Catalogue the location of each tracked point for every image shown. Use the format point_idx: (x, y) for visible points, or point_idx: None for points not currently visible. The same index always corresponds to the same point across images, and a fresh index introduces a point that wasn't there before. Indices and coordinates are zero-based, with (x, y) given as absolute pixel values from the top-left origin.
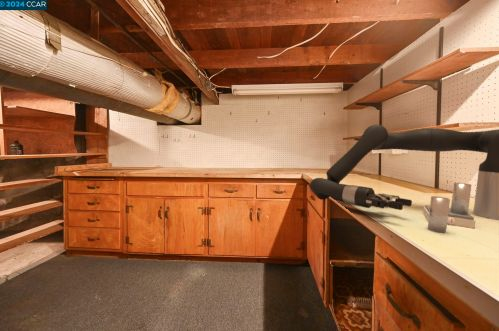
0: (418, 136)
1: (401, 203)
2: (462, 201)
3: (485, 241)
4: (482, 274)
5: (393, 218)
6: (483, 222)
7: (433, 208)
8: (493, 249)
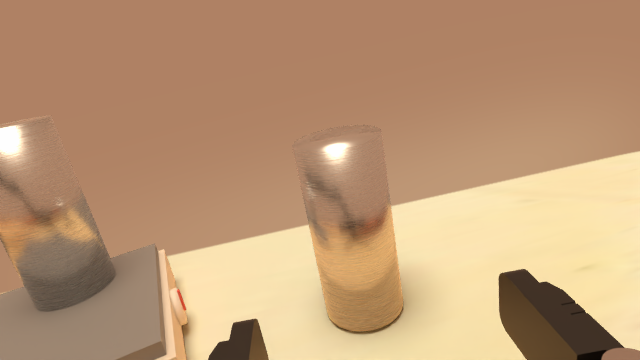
0: None
1: (518, 270)
2: (89, 209)
3: None
4: (612, 165)
5: None
6: None
7: (386, 196)
8: None
